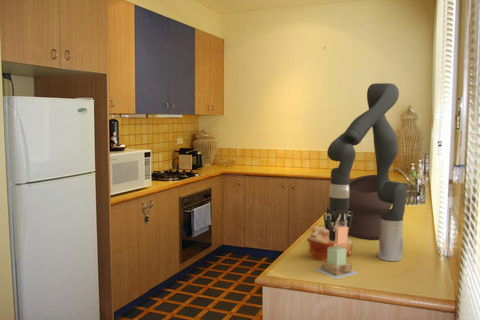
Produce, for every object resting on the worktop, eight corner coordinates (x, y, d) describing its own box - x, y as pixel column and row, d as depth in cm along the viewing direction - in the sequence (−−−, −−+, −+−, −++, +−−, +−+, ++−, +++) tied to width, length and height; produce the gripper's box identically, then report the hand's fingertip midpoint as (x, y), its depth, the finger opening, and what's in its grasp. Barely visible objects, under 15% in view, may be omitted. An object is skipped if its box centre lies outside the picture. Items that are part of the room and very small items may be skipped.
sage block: (345, 264, 176) (346, 249, 175) (336, 266, 173) (337, 251, 172) (336, 260, 180) (336, 245, 179) (327, 262, 177) (327, 247, 176)
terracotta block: (337, 239, 179) (337, 224, 178) (346, 242, 175) (347, 227, 174) (328, 241, 176) (328, 225, 176) (337, 244, 172) (338, 228, 171)
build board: (336, 266, 185) (336, 264, 185) (358, 276, 175) (359, 272, 175) (313, 272, 179) (314, 269, 178) (336, 282, 169) (336, 278, 168)
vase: (340, 226, 252) (342, 172, 249) (392, 230, 244) (395, 175, 241) (335, 238, 227) (337, 178, 224) (392, 244, 219) (396, 182, 215)
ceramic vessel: (297, 261, 192) (298, 226, 191) (332, 248, 211) (333, 216, 209) (324, 269, 182) (326, 232, 181) (359, 255, 201) (360, 221, 199)
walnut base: (336, 266, 182) (336, 259, 182) (351, 272, 176) (351, 264, 175) (321, 269, 178) (321, 262, 178) (336, 276, 171) (336, 268, 171)
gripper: (332, 198, 167) (331, 244, 168) (360, 195, 175) (358, 239, 176) (318, 195, 173) (316, 239, 175) (345, 192, 181) (343, 234, 182)
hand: (337, 239), depth 175 cm, fingers closed on terracotta block, 5 cm apart
